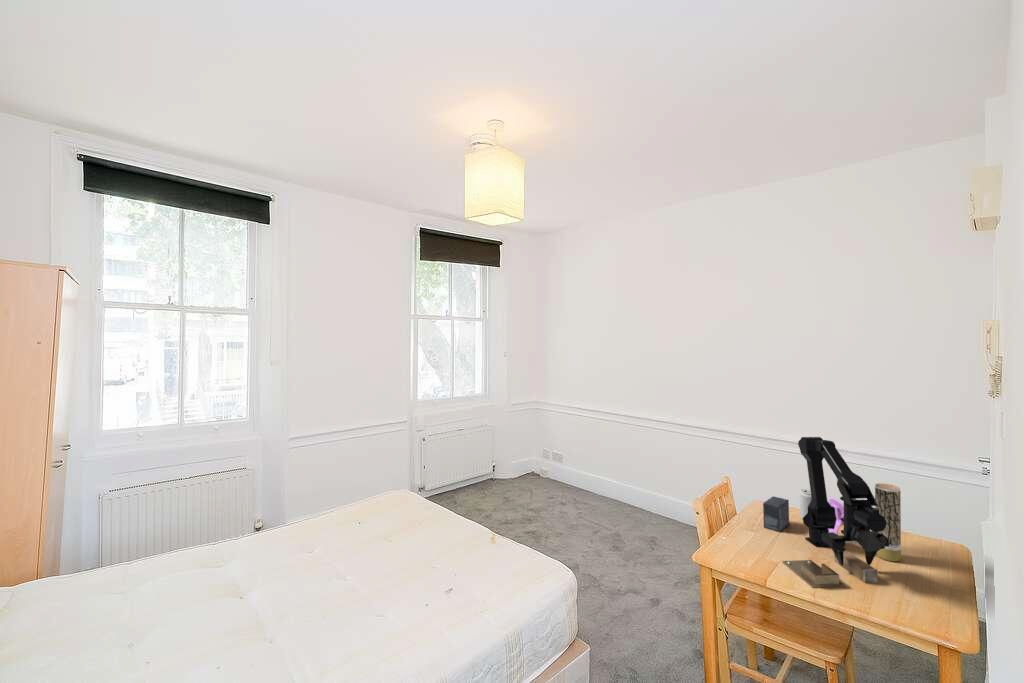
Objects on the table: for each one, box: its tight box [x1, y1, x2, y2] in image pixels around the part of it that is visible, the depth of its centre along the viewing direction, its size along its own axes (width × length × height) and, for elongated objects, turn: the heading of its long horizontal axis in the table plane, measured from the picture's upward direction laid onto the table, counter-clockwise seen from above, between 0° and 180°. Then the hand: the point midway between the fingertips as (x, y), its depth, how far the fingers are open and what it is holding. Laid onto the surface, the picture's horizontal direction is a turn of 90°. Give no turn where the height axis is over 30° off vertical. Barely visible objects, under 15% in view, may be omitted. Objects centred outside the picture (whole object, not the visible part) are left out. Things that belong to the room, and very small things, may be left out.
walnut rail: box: [833, 549, 879, 584], centre depth 148 cm, size 13×4×4 cm, turn 1°
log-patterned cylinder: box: [874, 483, 902, 563], centre depth 156 cm, size 7×7×25 cm
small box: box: [762, 496, 790, 533], centre depth 183 cm, size 11×6×10 cm, turn 130°
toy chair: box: [828, 497, 844, 535], centre depth 172 cm, size 8×9×15 cm
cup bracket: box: [781, 559, 845, 589], centre depth 147 cm, size 15×10×4 cm, turn 1°
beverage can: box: [799, 488, 812, 520], centre depth 188 cm, size 6×6×12 cm
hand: (854, 564), depth 148 cm, fingers open, 9 cm apart
